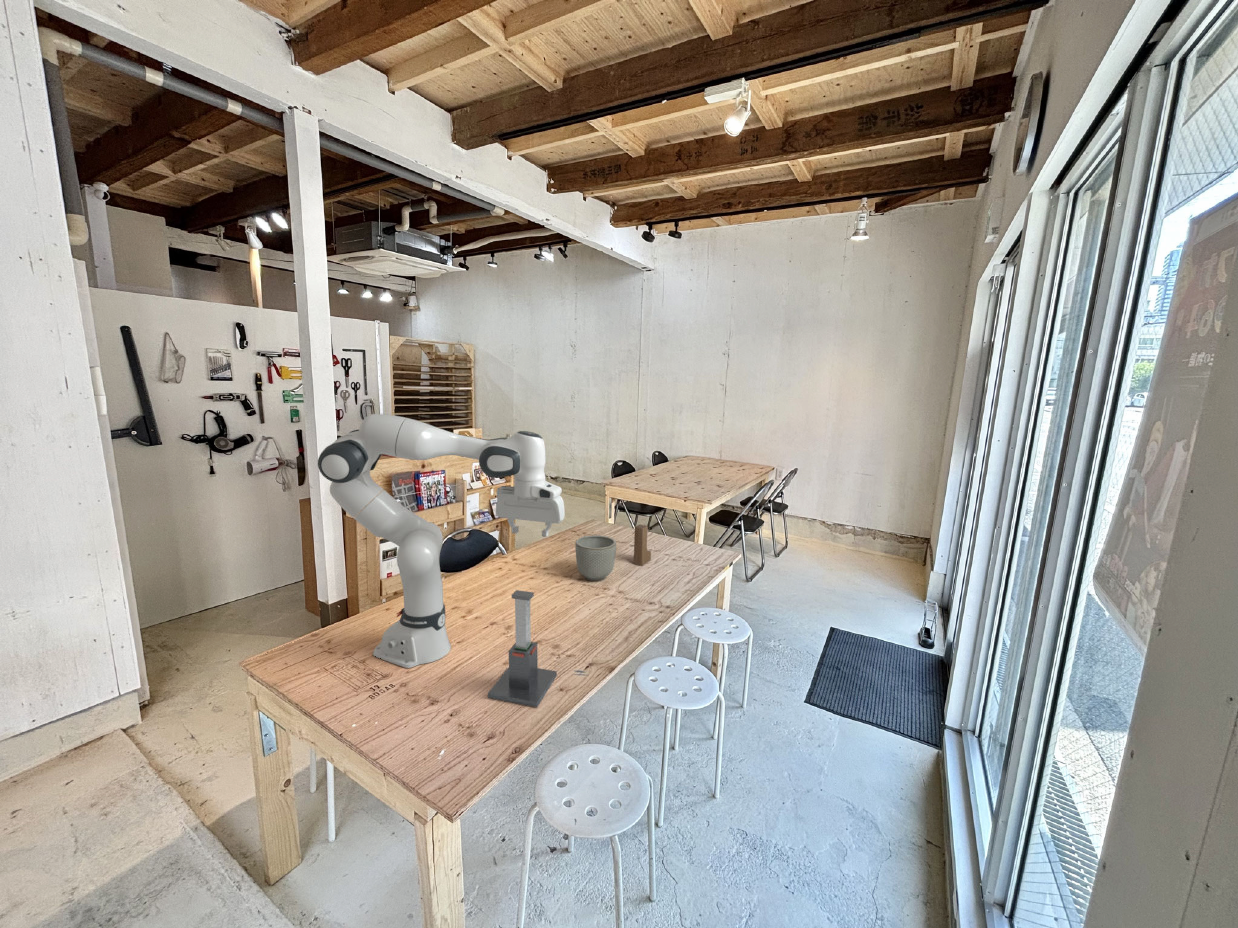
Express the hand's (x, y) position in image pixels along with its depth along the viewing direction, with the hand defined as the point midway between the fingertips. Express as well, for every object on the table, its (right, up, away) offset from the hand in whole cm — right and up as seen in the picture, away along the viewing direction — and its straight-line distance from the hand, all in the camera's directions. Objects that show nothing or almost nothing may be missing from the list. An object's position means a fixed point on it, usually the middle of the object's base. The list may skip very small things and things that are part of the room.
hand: (530, 534), depth 143 cm
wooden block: (+37, -25, +85) cm, 96 cm away
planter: (+16, -28, +67) cm, 74 cm away
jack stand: (0, -41, -7) cm, 42 cm away
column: (0, -34, -9) cm, 35 cm away
